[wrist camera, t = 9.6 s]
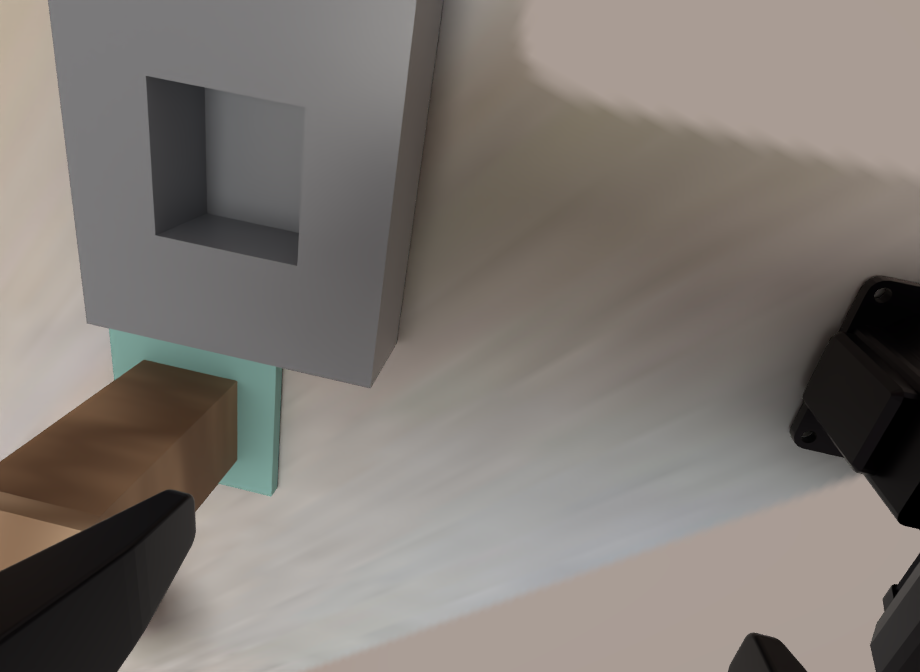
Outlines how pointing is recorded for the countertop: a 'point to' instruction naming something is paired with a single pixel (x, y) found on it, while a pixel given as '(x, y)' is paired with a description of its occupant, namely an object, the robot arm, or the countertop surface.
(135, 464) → the plug
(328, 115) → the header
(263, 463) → the mat
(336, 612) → the countertop surface
